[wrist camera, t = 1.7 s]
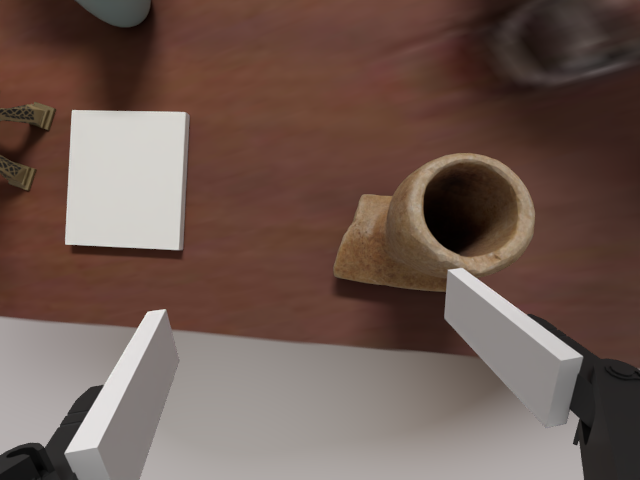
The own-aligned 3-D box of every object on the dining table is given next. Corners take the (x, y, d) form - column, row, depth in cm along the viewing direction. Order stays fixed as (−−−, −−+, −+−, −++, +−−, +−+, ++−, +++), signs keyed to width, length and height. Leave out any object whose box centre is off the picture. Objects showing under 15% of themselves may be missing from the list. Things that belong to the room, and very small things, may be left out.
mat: (78, 113, 41) (72, 110, 40) (189, 115, 40) (185, 112, 39) (71, 244, 41) (65, 244, 40) (183, 249, 40) (178, 250, 39)
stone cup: (483, 191, 37) (575, 157, 22) (466, 297, 37) (548, 333, 22) (348, 173, 39) (350, 128, 24) (332, 275, 39) (324, 296, 24)
